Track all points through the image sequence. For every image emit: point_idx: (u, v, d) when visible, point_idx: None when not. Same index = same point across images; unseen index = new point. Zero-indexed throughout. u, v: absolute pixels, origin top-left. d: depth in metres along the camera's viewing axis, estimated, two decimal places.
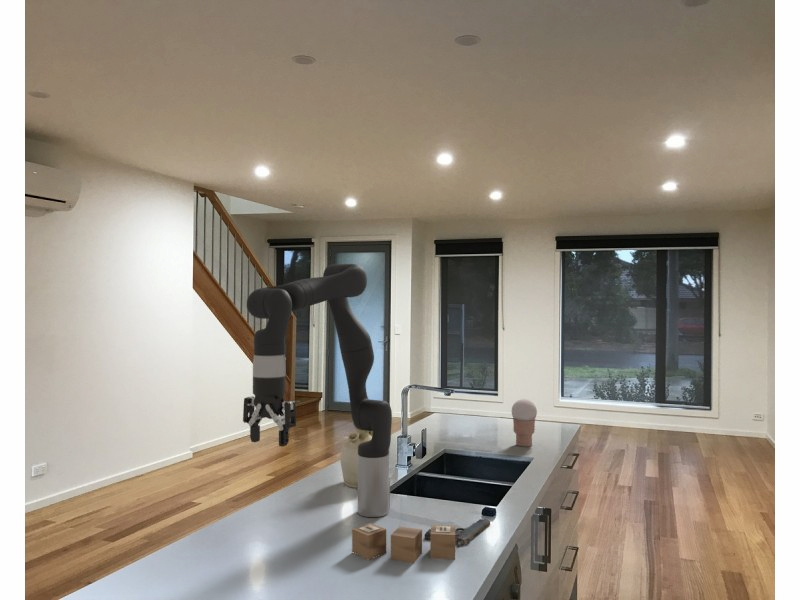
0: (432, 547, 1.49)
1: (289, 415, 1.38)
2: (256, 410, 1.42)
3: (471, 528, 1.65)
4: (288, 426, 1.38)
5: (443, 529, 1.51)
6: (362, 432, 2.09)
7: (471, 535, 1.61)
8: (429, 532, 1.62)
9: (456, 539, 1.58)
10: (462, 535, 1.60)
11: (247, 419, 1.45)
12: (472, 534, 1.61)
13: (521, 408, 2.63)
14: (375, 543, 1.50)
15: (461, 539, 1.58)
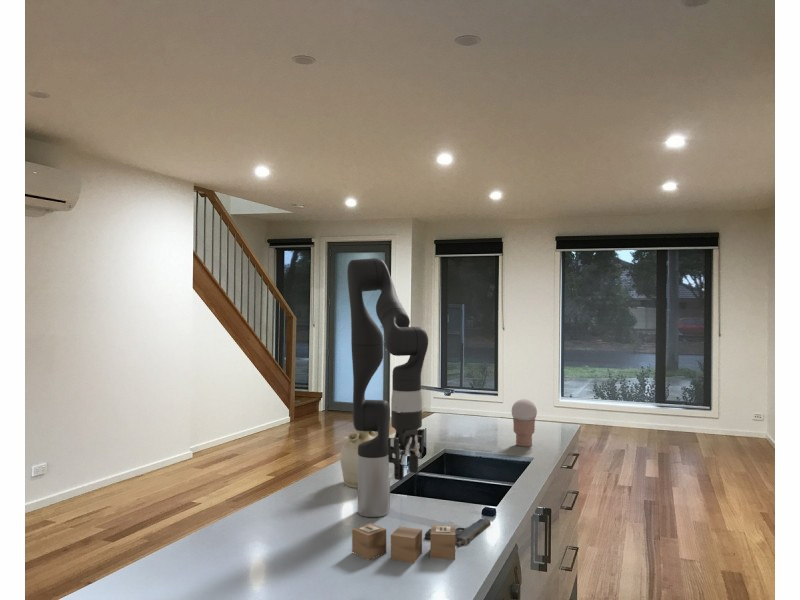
0: (433, 547, 1.49)
1: None
2: (408, 445, 1.48)
3: (471, 528, 1.65)
4: None
5: (443, 529, 1.51)
6: (362, 432, 2.09)
7: (471, 535, 1.61)
8: (429, 532, 1.62)
9: (456, 539, 1.58)
10: (462, 535, 1.60)
11: None
12: (472, 534, 1.62)
13: (521, 408, 2.63)
14: (375, 543, 1.50)
15: (461, 538, 1.58)
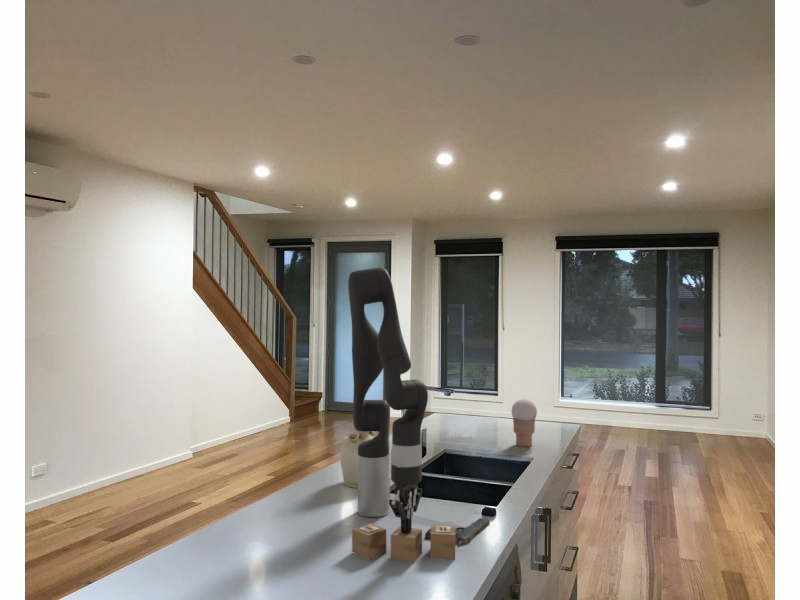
0: (433, 547, 1.49)
1: None
2: (409, 500, 1.48)
3: (471, 527, 1.65)
4: None
5: (443, 529, 1.51)
6: (362, 432, 2.09)
7: (471, 534, 1.61)
8: (430, 531, 1.62)
9: (457, 538, 1.59)
10: (462, 534, 1.60)
11: None
12: (472, 533, 1.62)
13: (521, 408, 2.63)
14: (375, 543, 1.50)
15: (462, 538, 1.58)
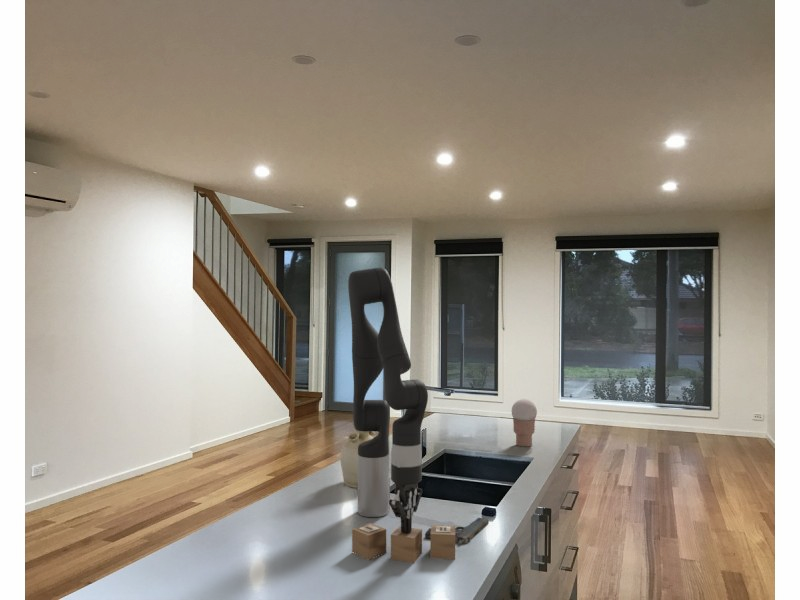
0: (433, 547, 1.49)
1: None
2: (409, 500, 1.48)
3: (471, 527, 1.66)
4: None
5: (443, 529, 1.51)
6: (362, 432, 2.09)
7: (471, 533, 1.62)
8: (429, 531, 1.62)
9: (457, 538, 1.59)
10: (462, 534, 1.61)
11: None
12: (472, 532, 1.62)
13: (521, 408, 2.63)
14: (375, 543, 1.50)
15: (462, 538, 1.59)
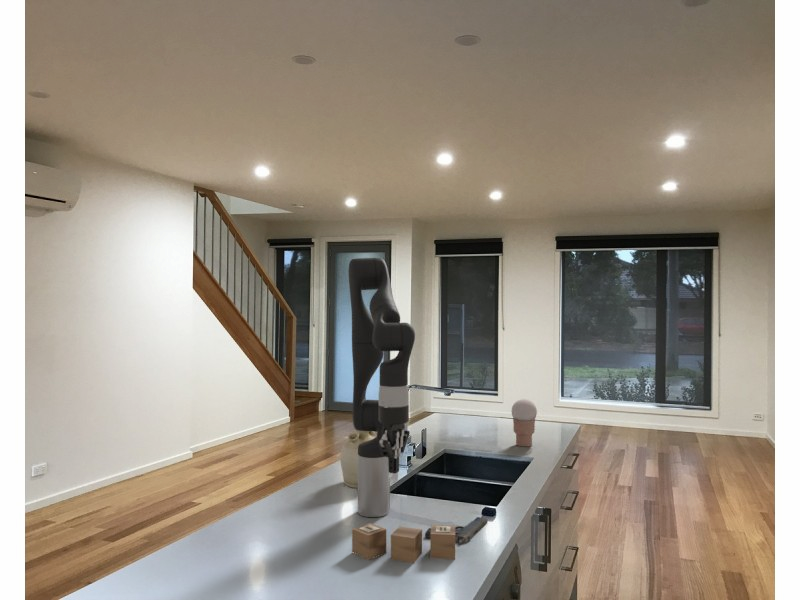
0: (433, 547, 1.49)
1: None
2: (397, 440, 1.50)
3: (470, 526, 1.66)
4: None
5: (443, 529, 1.51)
6: (362, 432, 2.09)
7: (471, 533, 1.62)
8: (429, 531, 1.62)
9: (457, 537, 1.59)
10: (462, 533, 1.61)
11: None
12: (472, 532, 1.63)
13: (521, 408, 2.63)
14: (375, 543, 1.50)
15: (462, 537, 1.59)
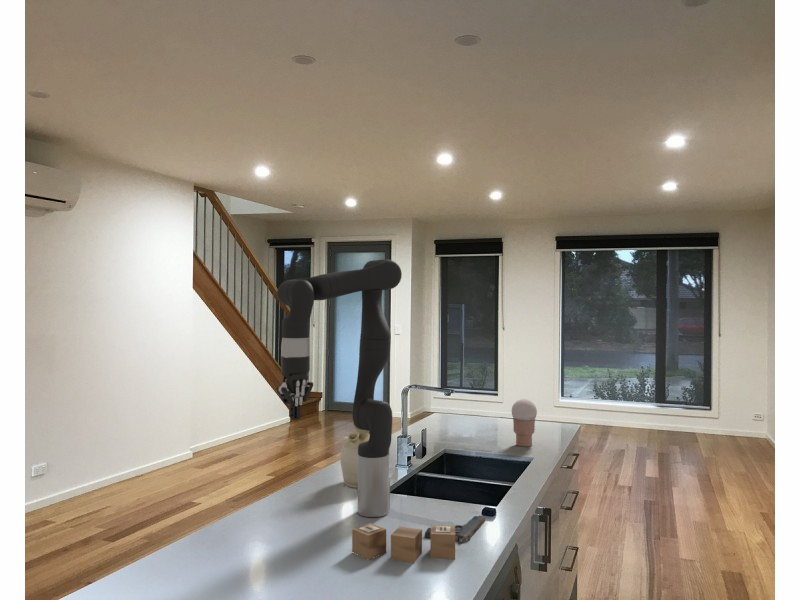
0: (433, 547, 1.49)
1: None
2: (297, 388, 1.61)
3: (469, 525, 1.67)
4: (306, 399, 1.65)
5: (443, 529, 1.51)
6: (362, 432, 2.09)
7: (470, 532, 1.63)
8: (429, 531, 1.63)
9: (457, 536, 1.60)
10: (462, 532, 1.62)
11: None
12: (471, 531, 1.64)
13: (521, 408, 2.63)
14: (375, 543, 1.50)
15: (462, 536, 1.60)
